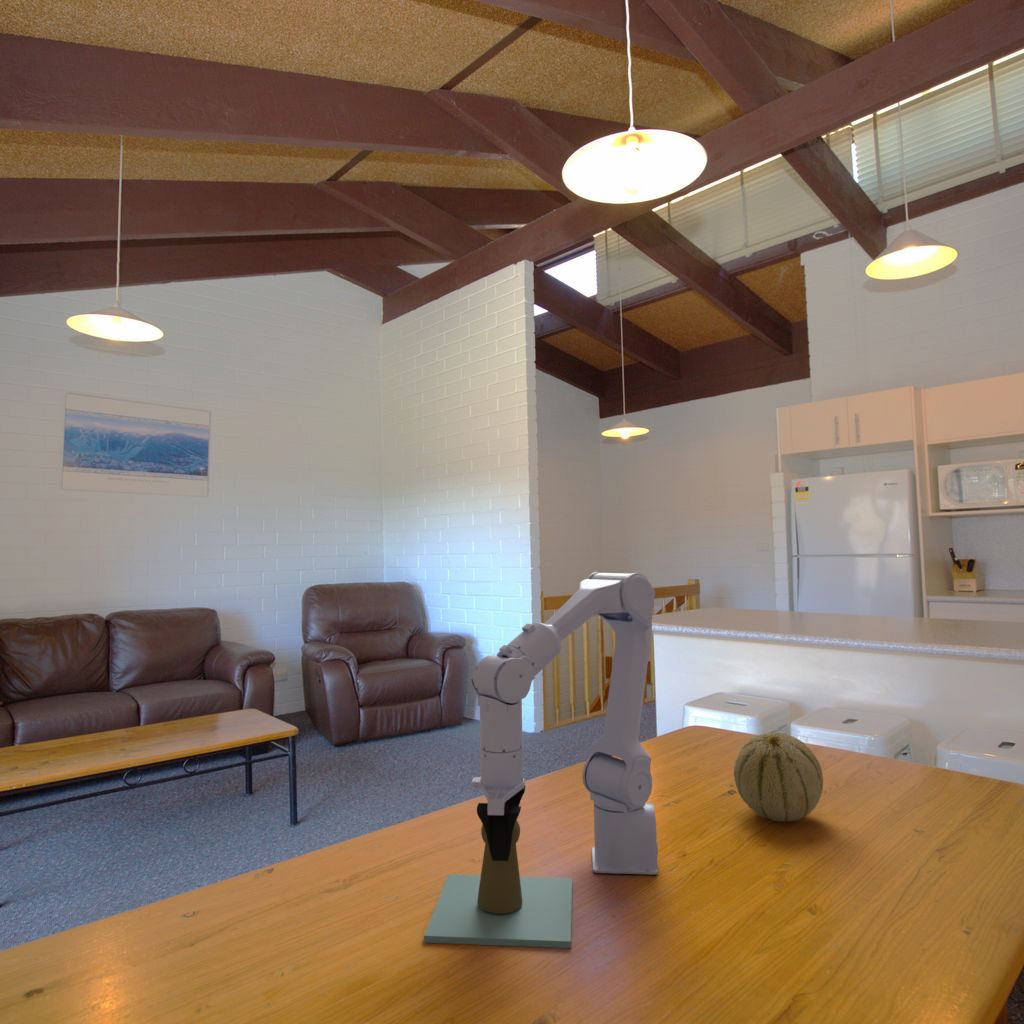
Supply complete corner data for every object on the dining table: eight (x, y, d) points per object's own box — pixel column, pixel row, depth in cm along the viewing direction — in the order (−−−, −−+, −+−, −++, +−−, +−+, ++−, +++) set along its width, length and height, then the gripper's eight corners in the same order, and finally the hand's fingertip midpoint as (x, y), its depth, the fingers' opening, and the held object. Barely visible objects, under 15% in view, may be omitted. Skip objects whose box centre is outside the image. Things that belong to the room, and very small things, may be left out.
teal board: (572, 883, 99) (572, 877, 99) (570, 948, 83) (570, 941, 83) (448, 879, 101) (448, 874, 101) (423, 942, 85) (423, 935, 85)
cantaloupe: (808, 803, 128) (805, 721, 129) (838, 836, 113) (834, 744, 114) (727, 801, 129) (724, 720, 130) (745, 834, 115) (742, 742, 115)
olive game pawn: (516, 916, 88) (517, 829, 89) (471, 909, 90) (472, 823, 90) (527, 893, 94) (527, 811, 95) (484, 887, 96) (485, 806, 96)
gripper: (479, 732, 100) (480, 827, 100) (463, 763, 86) (464, 874, 85) (527, 732, 100) (529, 828, 99) (519, 763, 85) (521, 876, 85)
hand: (502, 850), depth 92 cm, fingers closed on olive game pawn, 5 cm apart
